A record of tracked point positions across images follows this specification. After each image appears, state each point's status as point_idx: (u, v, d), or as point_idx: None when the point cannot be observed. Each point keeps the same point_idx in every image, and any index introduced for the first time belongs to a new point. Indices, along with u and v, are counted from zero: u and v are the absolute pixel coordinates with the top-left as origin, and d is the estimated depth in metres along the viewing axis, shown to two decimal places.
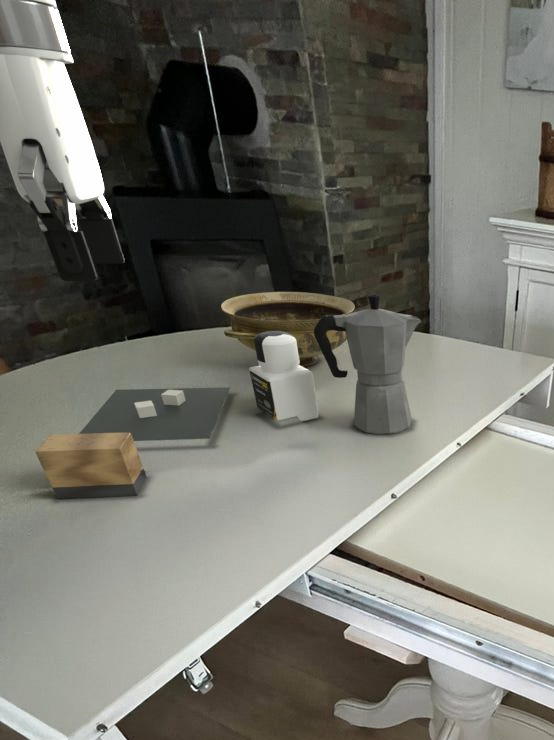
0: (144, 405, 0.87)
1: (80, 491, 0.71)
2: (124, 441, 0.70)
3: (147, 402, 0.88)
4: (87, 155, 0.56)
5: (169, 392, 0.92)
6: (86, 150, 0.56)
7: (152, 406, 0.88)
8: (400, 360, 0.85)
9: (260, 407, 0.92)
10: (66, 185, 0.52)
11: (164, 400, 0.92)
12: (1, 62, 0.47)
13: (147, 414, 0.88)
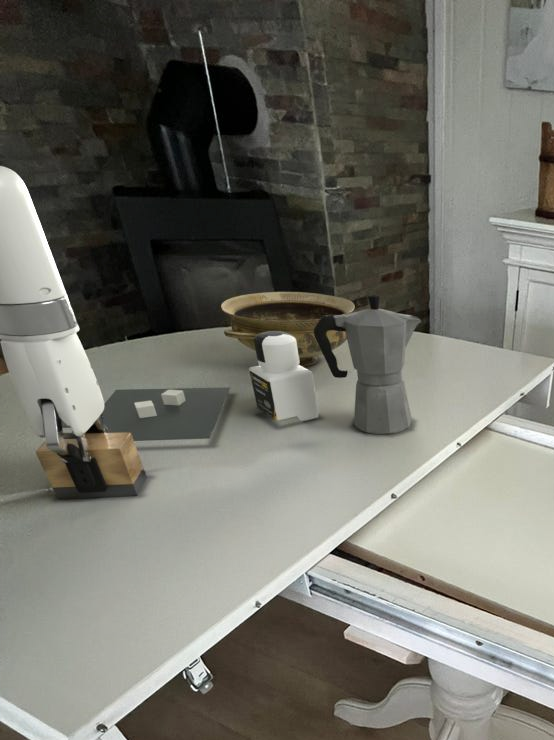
0: (144, 405, 0.87)
1: None
2: (124, 441, 0.70)
3: (147, 402, 0.88)
4: (90, 390, 0.67)
5: (169, 392, 0.92)
6: (89, 387, 0.67)
7: (152, 406, 0.88)
8: (400, 360, 0.85)
9: (260, 407, 0.92)
10: (73, 427, 0.64)
11: (164, 400, 0.92)
12: (21, 349, 0.59)
13: (147, 414, 0.88)
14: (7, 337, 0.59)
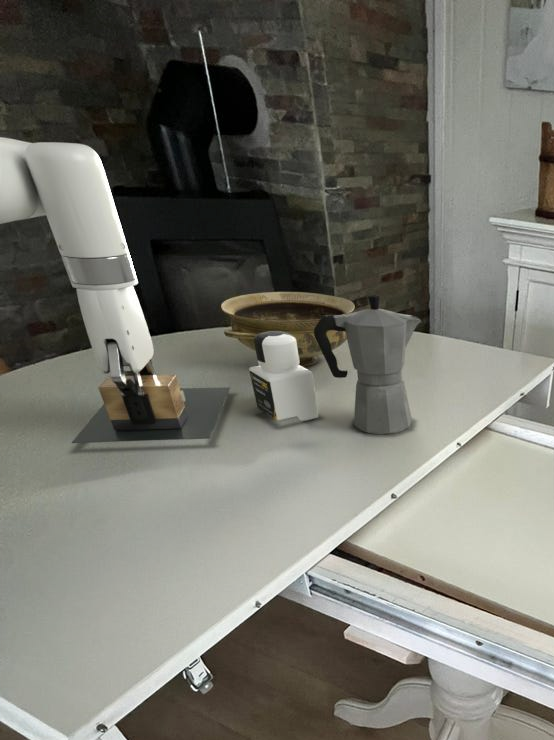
0: None
1: (133, 424, 0.84)
2: (171, 381, 0.83)
3: None
4: (144, 336, 0.80)
5: None
6: (143, 333, 0.80)
7: None
8: (400, 360, 0.85)
9: (260, 407, 0.92)
10: (131, 364, 0.77)
11: None
12: (93, 295, 0.72)
13: None
14: (82, 286, 0.72)
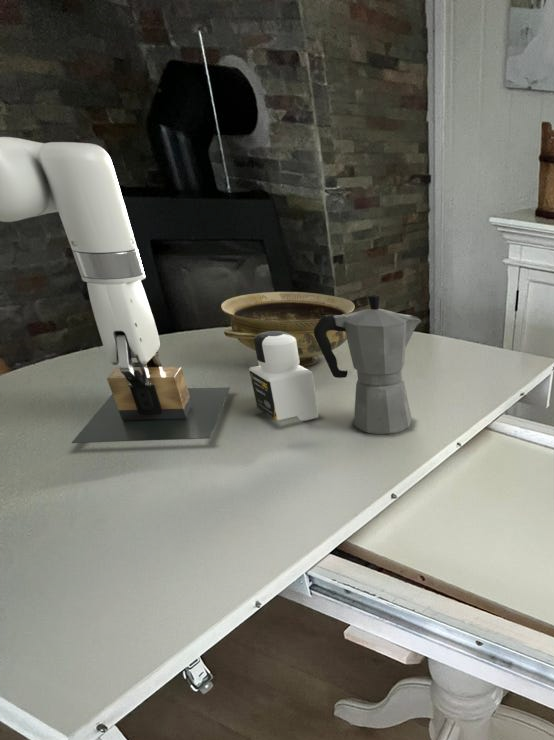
0: None
1: (140, 414, 0.87)
2: (177, 372, 0.86)
3: None
4: (151, 329, 0.83)
5: None
6: (150, 326, 0.83)
7: None
8: (400, 360, 0.85)
9: (260, 407, 0.92)
10: (139, 356, 0.80)
11: None
12: (103, 289, 0.75)
13: None
14: (92, 280, 0.75)
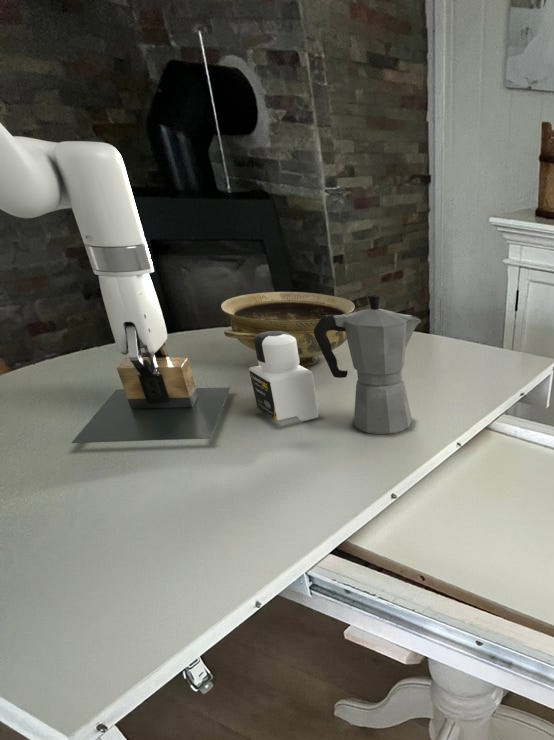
0: None
1: None
2: (184, 362, 0.89)
3: None
4: (159, 320, 0.86)
5: None
6: (158, 317, 0.86)
7: None
8: (400, 360, 0.85)
9: (260, 407, 0.92)
10: (148, 346, 0.83)
11: None
12: (114, 282, 0.78)
13: None
14: (103, 273, 0.78)
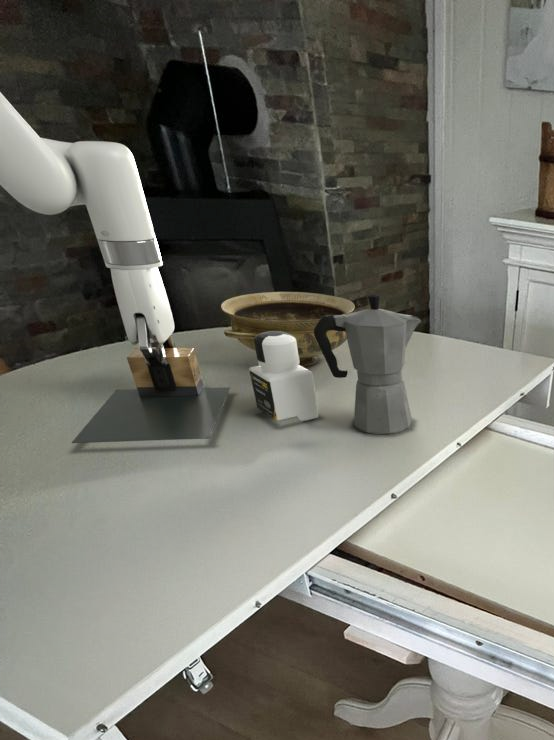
0: None
1: (156, 391, 0.94)
2: (190, 352, 0.94)
3: None
4: (167, 312, 0.91)
5: None
6: (166, 309, 0.90)
7: None
8: (400, 360, 0.85)
9: (260, 407, 0.92)
10: (157, 336, 0.87)
11: None
12: (125, 274, 0.82)
13: None
14: (115, 266, 0.82)
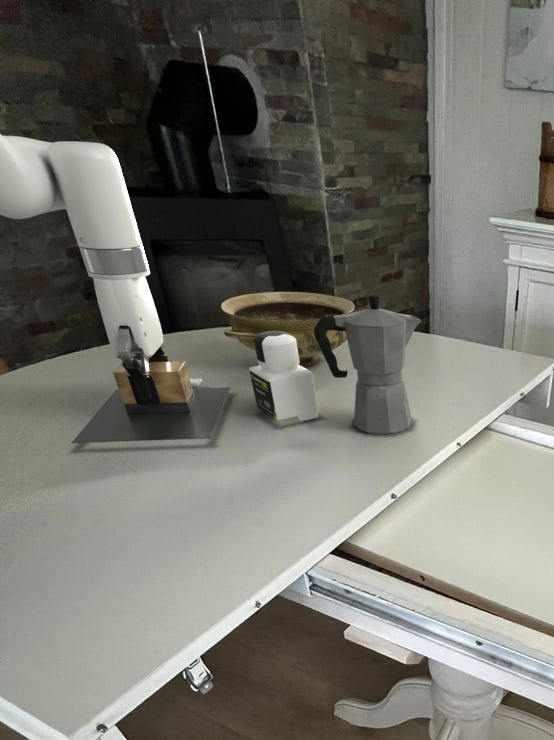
0: None
1: (145, 407, 0.89)
2: (181, 367, 0.88)
3: None
4: (155, 324, 0.85)
5: (190, 380, 1.00)
6: (154, 321, 0.85)
7: None
8: (400, 360, 0.85)
9: (260, 407, 0.92)
10: (144, 350, 0.82)
11: None
12: (109, 284, 0.77)
13: None
14: (98, 276, 0.77)
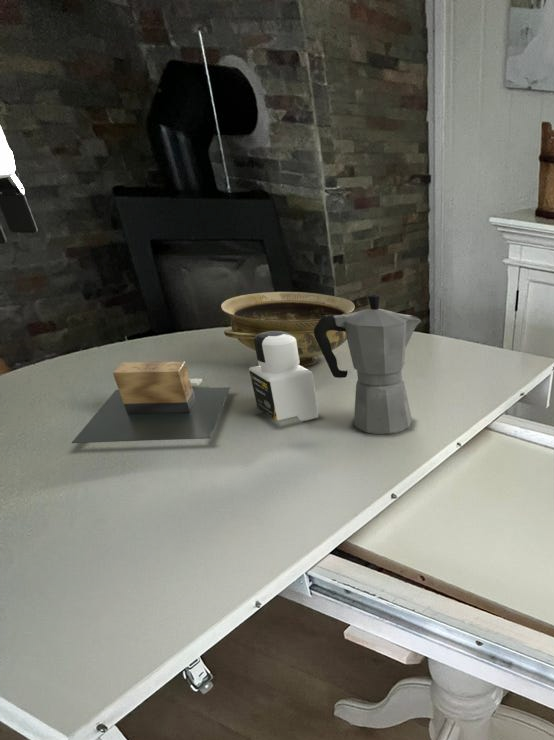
0: None
1: (145, 407, 0.89)
2: (181, 367, 0.88)
3: None
4: None
5: (190, 380, 1.00)
6: None
7: None
8: (400, 360, 0.85)
9: (260, 407, 0.92)
10: None
11: None
12: None
13: None
14: None
